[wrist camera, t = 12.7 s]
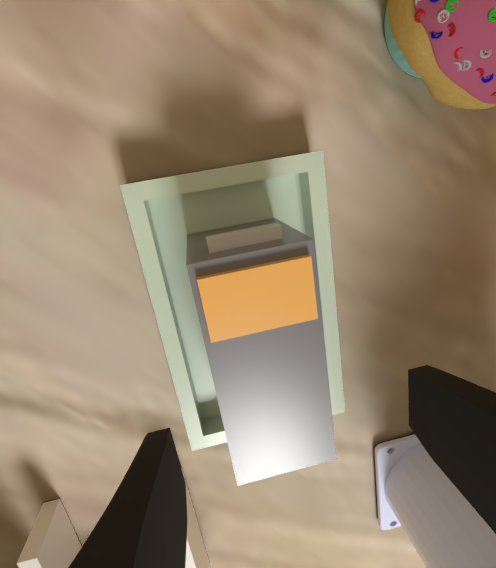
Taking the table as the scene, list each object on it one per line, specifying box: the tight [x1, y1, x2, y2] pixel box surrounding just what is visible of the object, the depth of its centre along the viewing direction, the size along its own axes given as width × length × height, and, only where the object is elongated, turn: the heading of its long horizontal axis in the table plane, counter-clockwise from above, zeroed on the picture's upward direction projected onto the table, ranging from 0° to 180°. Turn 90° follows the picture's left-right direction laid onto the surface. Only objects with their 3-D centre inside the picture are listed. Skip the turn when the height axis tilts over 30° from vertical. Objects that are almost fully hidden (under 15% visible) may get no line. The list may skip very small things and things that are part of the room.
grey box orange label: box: [186, 218, 337, 485], centre depth 16 cm, size 4×10×6 cm, turn 10°
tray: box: [120, 150, 345, 451], centre depth 19 cm, size 9×15×2 cm, turn 9°
